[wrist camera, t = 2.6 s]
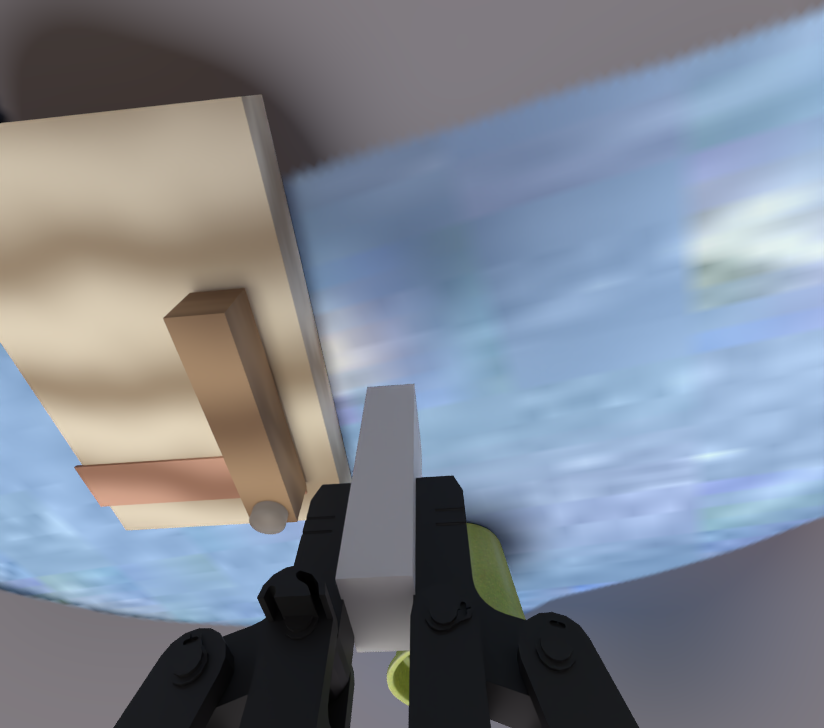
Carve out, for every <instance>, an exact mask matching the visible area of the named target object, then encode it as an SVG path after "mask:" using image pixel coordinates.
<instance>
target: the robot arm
mask: <svg viewBox="0 0 824 728" xmlns="http://www.w3.org/2000/svg"><path fill="white" fill-rule="evenodd" d="M257 599H258V601H259V603H260V605H261V607H262V610H263V612H264V614H265V616H266V618H265V619H264V620H262V621H260V622H258V623H256V624H254V625H252V626H250V627H247V628H245V629H242V630H239V631H237V632H234V633H231V634H229V635H226V636H223V637H222V636H221V634H220V633H219V632H217V631H215V630H213V629H211V628H199V629H196V630H193V631H191V632H188V633H185V634H184V635H182V636H181V637H180V638H178V639H177V640H175V641H174V642H173V643H172V644H171V645H170V646H169V647H168V648H167V650H166V651H165V652H164V653H163V654H162V655H161V657H160V658H159V660H158V661H157V663H156V664H155V666H154V667H153V669H152V670H151V672H150V673H149V675H148V677H147V678H146V679H145V681H144V682H143V684H142V686H141V687H140V688H139V690H138V692H137V693H136V695H135V696H134V697H133V699H132V701H131V702H130V703H129V705H128V706H127V708H126V709H125V711H124V713H123V714H122V716H121V718H120V719H119V720H118V722H117V723H116V725H115V726H114V728H350V722H351V712H352V703H353V693H354V671H353V667H352V656H353V647H354V643H355V646H356V650H357V652H377V651H378V652H379V651H405V650H410V668H409V728H491V724H490V719H491V720H493V721H496V722H498V723H501V724H504V725H506V726H509V727H512V728H639V726H638V725H637V723H636V721H635V719H634V718H633V716H632V714H631V712H630V710H629V708H628V707H627V705H626V703H625V701H624V699H623V698H622V696H621V694H620V692H619V690H618V689H617V687H616V685H615V683H614V681H613V680H612V678H611V676H610V674H609V672H608V671H607V669H606V667H605V666H604V664H603V662H602V660H601V658H600V656H599V654H598V653H597V651H596V649H595V647H594V646H593V644H592V642H591V640H590V638H589V637H588V636H587V634H586V633H585V632H584V630H583V629H582V628H581V627H580V625H578V624H577V623H575V622H574V621H573V620H571V619H570V618H568V617H567V616H564V615H560V614H556V613H553V612H549V613H539V614H537V615H535V616H533V617H531V618H529V619H528V620H524V619H521V618H518V617H514V616H511V615H508V614H505V613H502V612H500V611H498V610H495V609H494V608H492V607H491V606H490V605H488V604H487V603H486V602H485V601H484V600H483V599H482V598H481V597H480V595H479V593H478V592H477V590H476V588H475V585H474V581H473V576H472V567H471V559H470V550H469V541H468V532H467V524H466V515H465V506H464V497H463V490H462V488H461V487H460V485H459V484H458V482H457V481H456V479H455V478H454V476H438V477H422V459H421V441H420V432H419V423H418V413H417V404H416V395H415V386H414V384H405V385H391V386H377V387H367V392H366V398H365V404H364V410H363V416H362V422H361V428H360V434H359V440H358V446H357V452H356V458H355V464H354V470H353V476H352V482H351V483H340V484H324V485H322V486H321V487H320V488H319V490H318V491H317V492H316V494H315V495H314V496H313V498H312V499H311V501H310V505H309V509H308V513H307V517H306V521H305V524H304V528H303V535H302V536H301V540H300V544H299V548H298V551H297V555H296V559H295V563H294V566H291V567H287V568H285V569H283V570H281V571H279V572H278V573H276V574H274V575H273V576H272V577H271V578H270V579H269V580H268V581H267V582H266V583H265V584H264V585H263V587H262V589H261V591H260V593H259V595H258V597H257Z"/></svg>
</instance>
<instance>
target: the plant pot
mask: <svg viewBox="0 0 824 728" xmlns="http://www.w3.org/2000/svg"><path fill="white" fill-rule="evenodd" d="M466 524H467V532H468V541H469V550H470V559H471V567H472V576H473V581H474V585H475V588H476V590H477V592H478V593H479V595H480V597H481V598H482V599H483V600H484V601H485V602H486V603H487V604H488V605H490V606H491V607H492V608H494V609H495V610H498V611H500V612H502V613H505V614H508V615H511V616H514V617H518V618H521V619H524V620H526V619H525V616H524V613H523V610H522V607H521V604H520V601H519V598H518V595H517V592H516V589H515V586H514V583H513V580H512V577H511V574H510V571H509V568H508V565H507V562H506V559H505V556H504V552H503V549H502V546H501V544H500V541H499V540H498V538H497V537H496V536H495V534H493V533H492V532H491V531H490V530H488V529H486V528H484V527H482V526H479V525H476V524H472V523H466ZM409 668H410V650H405V651H397V652H396V656H395V657H394V658H393V660H392V661H391V663H390V665H389V667H388V671H387V683H388V687H389V690H390V691H391V692H392V694H393V695H394V696H395V697H396V698H398V699H399V700H400V701H402V702H403V703H405V704H407V705H408V706H409Z"/></svg>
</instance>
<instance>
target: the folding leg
mask: <svg viewBox="0 0 824 728" xmlns="http://www.w3.org/2000/svg"><path fill="white" fill-rule="evenodd" d="M163 320H164V322H165V324H166V327H167V329H168V331H169V334H170V336H171V338H172V341H173V343H174V345H175V348H176V350H177V352H178V354H179V357H180V359H181V361H182V364H183V366H184V368H185V371H186V373H187V375H188V378H189V380H190V382H191V384H192V387H193V389H194V391H195V394H196V396H197V398H198V401H199V403H200V405H201V408H202V410H203V412H204V414H205V417H206V419H207V421H208V424H209V426H210V428H211V431H212V433H213V435H214V438H215V440H216V442H217V445H218V447H219V449H220V451H221V454H222V456H223V458H224V461H225V463H226V465H227V468H228V470H229V472H230V475H231V477H232V479H233V481H234V484H235V486H236V488H237V491H238V493H239V495H240V498H241V500H242V502H243V505H244V507H245V509H246V511H247V514H248V516H249V523H250V525H251V526H252V528H254V529H255V530H256V531H258V532H261V533H264V534H277V533H279V532H281V531H283V530H284V528H285V526H286V522H297V521H298V517H299V513H300V510H301V506H302V502H303V499H304V495H305V491H306V487H307V486H306V482H305V479H304V476H303V473H302V470H301V466H300V463H299V460H298V457H297V454H296V450H295V447H294V444H293V441H292V438H291V434H290V431H289V428H288V425H287V422H286V418H285V415H284V412H283V409H282V406H281V402H280V399H279V396H278V393H277V390H276V386H275V383H274V380H273V377H272V374H271V370H270V367H269V364H268V361H267V358H266V354H265V351H264V348H263V345H262V342H261V338H260V335H259V332H258V329H257V326H256V322H255V319H254V316H253V313H252V310H251V306H250V303H249V300H248V297H247V294H246V290H245V288H240V289H228V290H216V291H205V292H193V293H189V294H188V295H187V296H186V297H185V298H184V299H183V300H182V301H180V302H179V303H178V304H177V305H176V306H175V307H174V308H173V309H172V310H171V311H170V312H169V313H168V314H167V315H166V316H165V317H164V318H163Z"/></svg>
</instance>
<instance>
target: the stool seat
mask: <svg viewBox="0 0 824 728" xmlns="http://www.w3.org/2000/svg"><path fill="white" fill-rule="evenodd" d="M240 288H245V290H246V294H247V297H248V300H249V303H250V306H251V310H252V313H253V316H254V319H255V322H256V326H257V329H258V332H259V335H260V338H261V342H262V345H263V348H264V351H265V354H266V358H267V361H268V364H269V367H270V370H271V374H272V377H273V380H274V383H275V386H276V390H277V393H278V396H279V399H280V402H281V406H282V409H283V412H284V415H285V418H286V422H287V425H288V428H289V431H290V434H291V438H292V441H293V444H294V447H295V450H296V454H297V457H298V460H299V463H300V466H301V470H302V473H303V476H304V479H305V482H306V486H307V487H306V491H305V495H304V499H303V502H302V506H301V510H300V513H299V517H298V521H300V520H306V517H307V513H308V509H309V505H310V501H311V499H312V498H313V496H314V495H315V494H316V492H317V491H318V490H319V488H320V487H321V486H322V485H324V484H340V483H351V482H352V478H351V474H350V470H349V465H348V461H347V457H346V452H345V448H344V444H343V440H342V435H341V431H340V427H339V422H338V418H337V414H336V410H335V405H334V401H333V397H332V392H331V388H330V384H329V380H328V375H327V371H326V367H325V362H324V358H323V354H322V350H321V345H320V341H319V337H318V332H317V328H316V324H315V320H314V315H313V311H312V307H311V302H310V298H309V294H308V290H307V285H306V281H305V277H304V272H303V268H302V264H301V260H300V255H299V251H298V247H297V242H296V238H295V234H294V230H293V225H292V221H291V217H290V212H289V208H288V204H287V200H286V195H285V191H284V187H283V182H282V178H281V174H280V170H279V165H278V161H277V157H276V153H275V148H274V144H273V140H272V135H271V132H270V127H269V122H268V118H267V114H266V110H265V105H264V101H263V97H262V94H260V95H252V96H251V95H250V96H241V97H232V98H223V99H214V100H205V101H196V102H187V103H178V104H169V105H160V106H151V107H142V108H133V109H124V110H115V111H106V112H97V113H88V114H79V115H70V116H61V117H52V118H43V119H34V120H26V121H16V122H7V123H0V342H1V344H2V345H3V347H4V348H5V350H6V351H7V353H8V354H9V356H10V357H11V359H12V360H13V362H14V363H15V365H16V366H17V368H18V369H19V371H20V372H21V374H22V375H23V377H24V378H25V380H26V381H27V383H28V384H29V386H30V387H31V389H32V390H33V392H34V393H35V395H36V396H37V398H38V399H39V401H40V402H41V404H42V405H43V407H44V408H45V410H46V411H47V413H48V414H49V416H50V417H51V419H52V420H53V422H54V423H55V425H56V426H57V428H58V429H59V431H60V432H61V434H62V435H63V437H64V438H65V440H66V441H67V443H68V444H69V446H70V447H71V449H72V450H73V452H74V453H75V455H76V456H77V458H78V459H79V461H80V462H81V464H82V465H77V466H75V467H74V468H75V469H76V471H77V472H78V474H79V475H80V477H81V478H82V480H83V481H84V483H85V484H86V486H87V487H88V488H89V490H90V491H91V493H92V494H93V496H94V497H95V499H96V500H97V502H98V503H99V505H100V506H101V507H102V506H110V507H111V508H112V510H113V511H114V513H115V514H116V516H117V517H118V519H119V520H120V522H121V523H122V525H123V526H124V528H125V529H126V530H141V529H159V528H176V527H194V526H212V525H229V524H247V523H249V516H248V514H247V511H246V509H245V507H244V505H243V502H242V500H241V498H240V495H239V493H238V491H237V488H236V486H235V484H234V481H233V479H232V477H231V475H230V472H229V470H228V468H227V465H226V463H225V461H224V458H223V456H222V454H221V451H220V449H219V447H218V445H217V442H216V440H215V438H214V435H213V433H212V431H211V428H210V426H209V424H208V421H207V419H206V417H205V414H204V412H203V410H202V408H201V405H200V403H199V401H198V398H197V396H196V394H195V391H194V389H193V387H192V384H191V382H190V380H189V378H188V375H187V373H186V371H185V368H184V366H183V364H182V361H181V359H180V357H179V354H178V352H177V350H176V348H175V345H174V343H173V341H172V338H171V336H170V334H169V331H168V329H167V327H166V324H165V322H164V320H163V318H164V317H165V316H166V315H167V314H168V313H169V312H170V311H171V310H172V309H173V308H174V307H175V306H176V305H177V304H178V303H179V302H180V301H182V300H183V299H184V298H185V297H186V296H187V295H188V294H189V293H193V292H205V291H216V290H228V289H240Z"/></svg>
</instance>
